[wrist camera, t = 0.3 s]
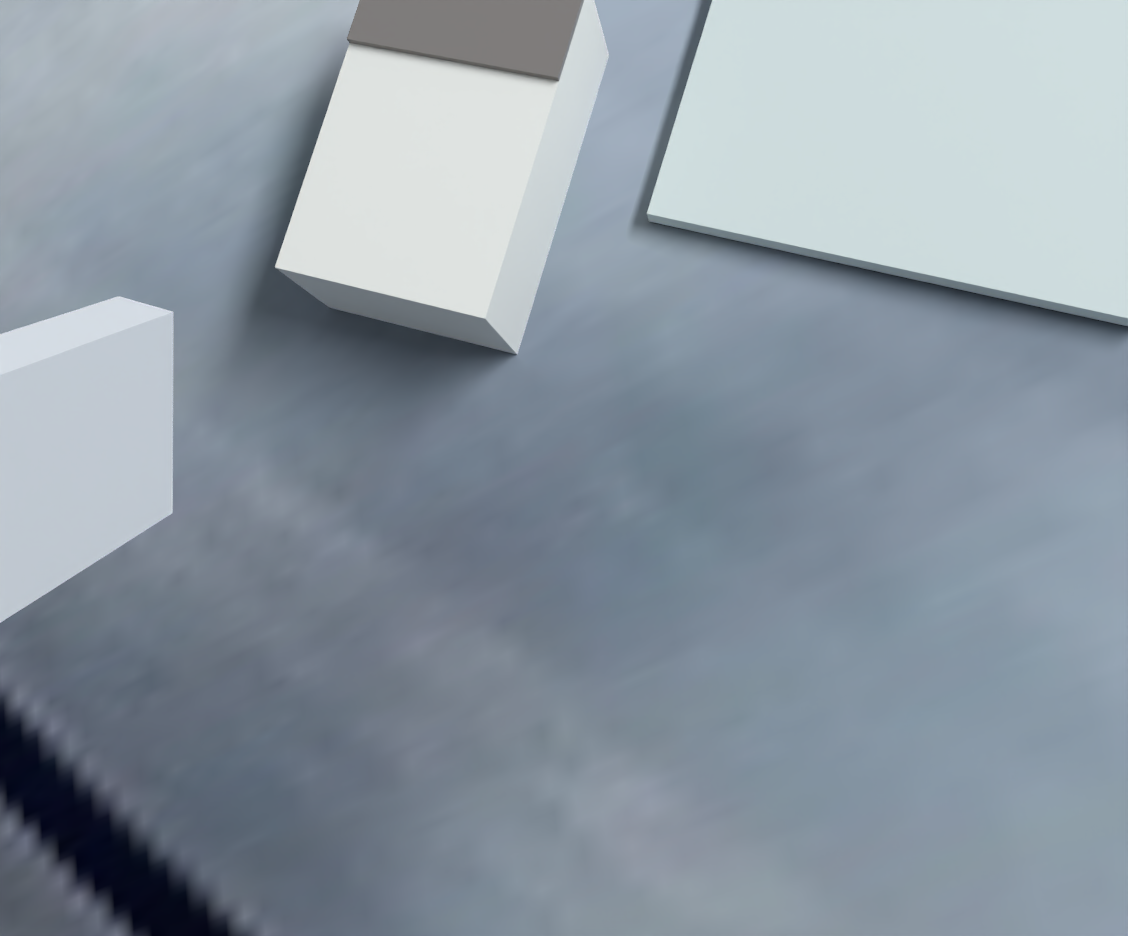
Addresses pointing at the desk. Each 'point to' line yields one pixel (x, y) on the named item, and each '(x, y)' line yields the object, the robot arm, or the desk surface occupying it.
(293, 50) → the desk surface
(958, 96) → the mat
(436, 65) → the card deck box
